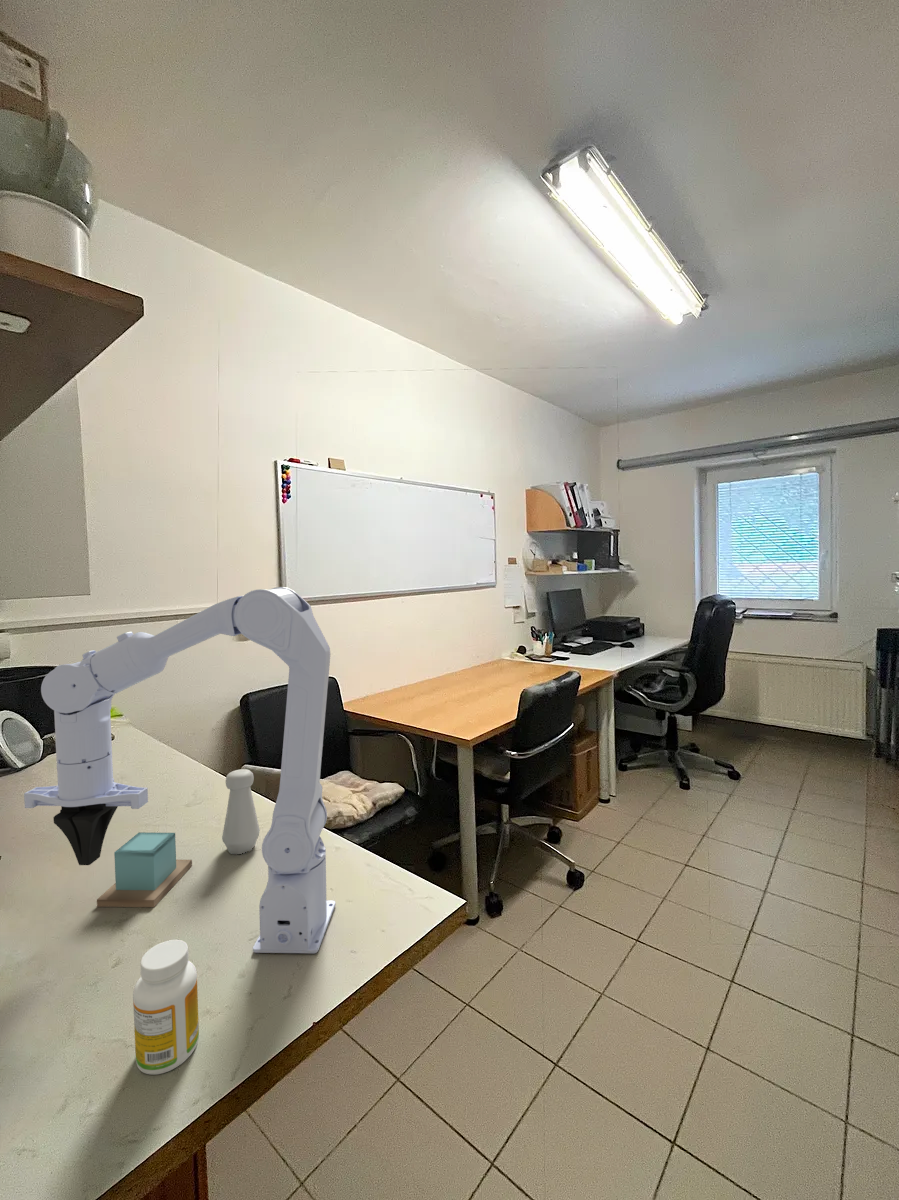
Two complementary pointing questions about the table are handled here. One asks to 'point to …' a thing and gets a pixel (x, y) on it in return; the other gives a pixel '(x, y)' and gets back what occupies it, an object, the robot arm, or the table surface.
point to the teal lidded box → (145, 861)
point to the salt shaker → (240, 813)
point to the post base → (143, 891)
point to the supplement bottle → (165, 1008)
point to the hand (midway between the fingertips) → (89, 860)
